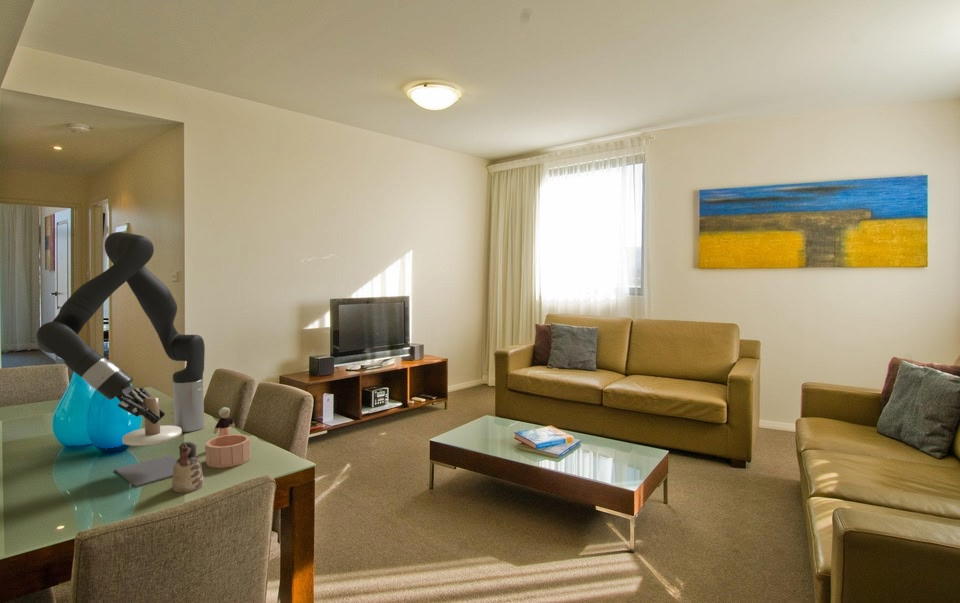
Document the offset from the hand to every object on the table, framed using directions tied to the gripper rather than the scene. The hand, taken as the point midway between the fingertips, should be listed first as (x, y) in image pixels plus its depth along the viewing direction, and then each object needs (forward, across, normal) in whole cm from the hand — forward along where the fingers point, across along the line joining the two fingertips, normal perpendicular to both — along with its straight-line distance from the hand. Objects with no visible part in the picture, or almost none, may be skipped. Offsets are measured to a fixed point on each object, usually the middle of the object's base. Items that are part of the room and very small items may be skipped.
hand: (160, 418), depth 146 cm
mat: (+9, 0, +12) cm, 15 cm away
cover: (+2, 0, +5) cm, 5 cm away
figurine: (+17, -15, +3) cm, 23 cm away
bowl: (+22, +2, -1) cm, 22 cm away
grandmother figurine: (+20, +16, +1) cm, 26 cm away
